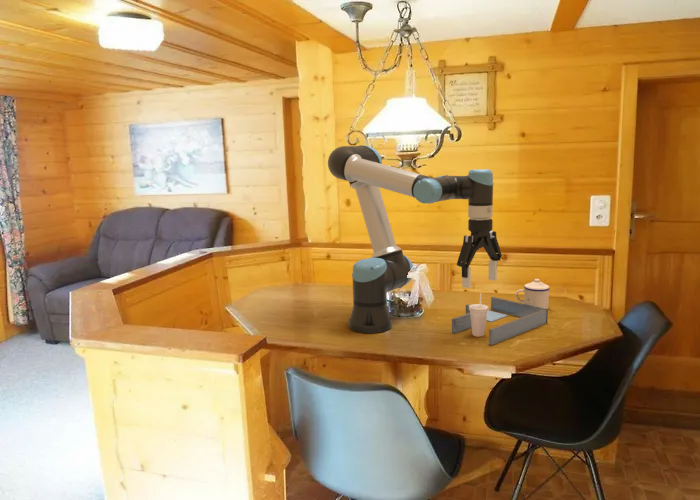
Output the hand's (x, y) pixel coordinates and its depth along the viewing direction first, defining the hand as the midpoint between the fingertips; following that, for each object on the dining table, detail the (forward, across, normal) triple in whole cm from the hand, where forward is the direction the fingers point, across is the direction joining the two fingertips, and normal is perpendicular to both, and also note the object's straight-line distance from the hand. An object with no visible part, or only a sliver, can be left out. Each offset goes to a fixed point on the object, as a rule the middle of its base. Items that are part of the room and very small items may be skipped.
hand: (479, 283), depth 178 cm
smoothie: (+18, 0, 0) cm, 18 cm away
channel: (+17, +11, +3) cm, 21 cm away
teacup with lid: (+18, +38, +4) cm, 42 cm away
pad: (+17, +19, +10) cm, 28 cm away
